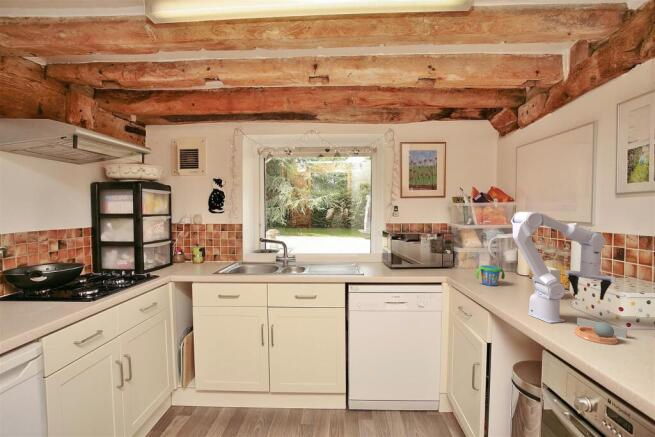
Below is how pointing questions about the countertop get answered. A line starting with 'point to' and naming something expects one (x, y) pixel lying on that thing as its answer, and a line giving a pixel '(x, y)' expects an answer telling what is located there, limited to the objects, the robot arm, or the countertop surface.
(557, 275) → the skincare box
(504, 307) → the countertop surface
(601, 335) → the ball
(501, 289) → the countertop surface
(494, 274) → the snack cup
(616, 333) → the acrylic wall
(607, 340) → the bowl
